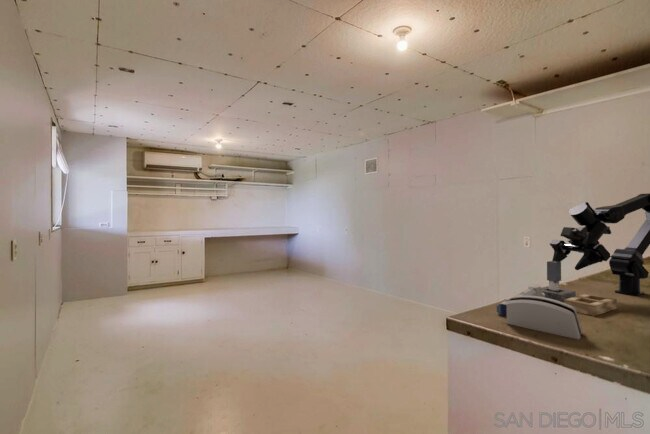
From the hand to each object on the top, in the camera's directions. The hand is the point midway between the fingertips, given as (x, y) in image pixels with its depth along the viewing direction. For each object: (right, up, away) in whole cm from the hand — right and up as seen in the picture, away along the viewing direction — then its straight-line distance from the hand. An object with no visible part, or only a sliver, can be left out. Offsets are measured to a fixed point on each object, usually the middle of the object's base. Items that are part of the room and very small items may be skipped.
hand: (563, 267), depth 116 cm
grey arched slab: (-27, -12, -29) cm, 41 cm away
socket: (-4, -11, 0) cm, 12 cm away
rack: (-1, -11, -12) cm, 17 cm away
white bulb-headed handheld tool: (-20, -12, -10) cm, 26 cm away
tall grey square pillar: (-4, -11, 0) cm, 12 cm away
